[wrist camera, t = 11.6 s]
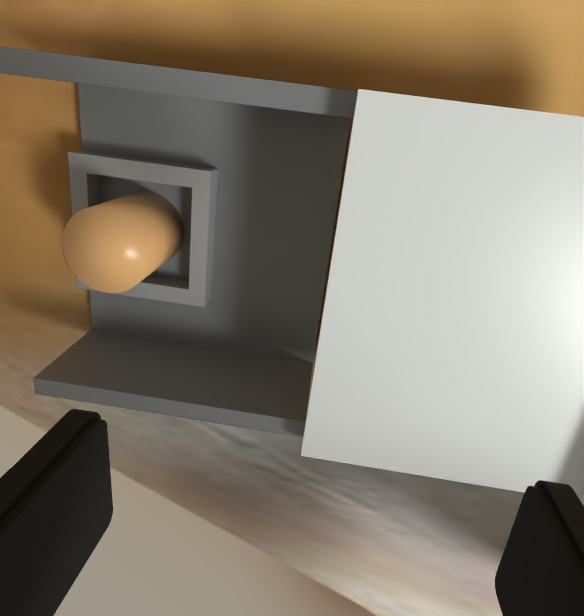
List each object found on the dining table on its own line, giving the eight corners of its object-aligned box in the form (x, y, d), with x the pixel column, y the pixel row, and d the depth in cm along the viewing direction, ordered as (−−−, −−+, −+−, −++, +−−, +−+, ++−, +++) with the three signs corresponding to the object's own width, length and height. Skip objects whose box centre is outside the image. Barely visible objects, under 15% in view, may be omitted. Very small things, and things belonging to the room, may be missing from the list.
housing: (353, 98, 25) (357, 90, 18) (311, 370, 32) (303, 437, 25) (84, 64, 26) (-6, 45, 19) (98, 336, 32) (35, 393, 26)
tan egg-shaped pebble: (198, 230, 28) (165, 254, 23) (152, 277, 29) (112, 309, 24) (143, 175, 27) (96, 187, 22) (99, 225, 28) (45, 248, 23)
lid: (756, 140, 17) (841, 145, 14) (589, 487, 24) (624, 539, 21) (357, 90, 18) (360, 85, 15) (302, 440, 25) (297, 484, 22)
